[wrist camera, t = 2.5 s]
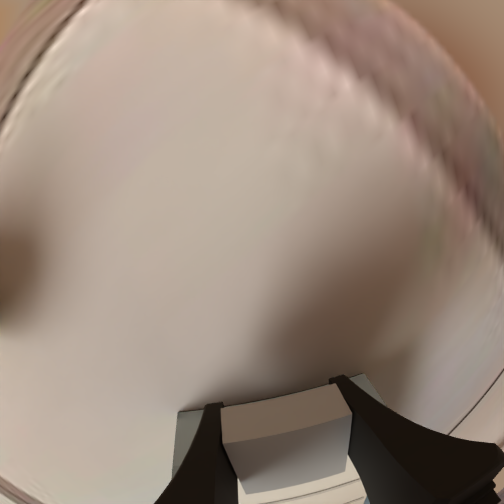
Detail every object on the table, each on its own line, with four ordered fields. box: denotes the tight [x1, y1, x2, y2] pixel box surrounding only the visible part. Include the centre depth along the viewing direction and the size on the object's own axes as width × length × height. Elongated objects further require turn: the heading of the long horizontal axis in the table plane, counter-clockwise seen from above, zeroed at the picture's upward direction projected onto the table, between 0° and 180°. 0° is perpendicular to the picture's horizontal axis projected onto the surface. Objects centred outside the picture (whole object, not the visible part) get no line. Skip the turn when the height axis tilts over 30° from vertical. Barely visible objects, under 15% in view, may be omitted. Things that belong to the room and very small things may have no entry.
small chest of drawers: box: [221, 383, 367, 504], centre depth 10 cm, size 14×8×2 cm, turn 9°
